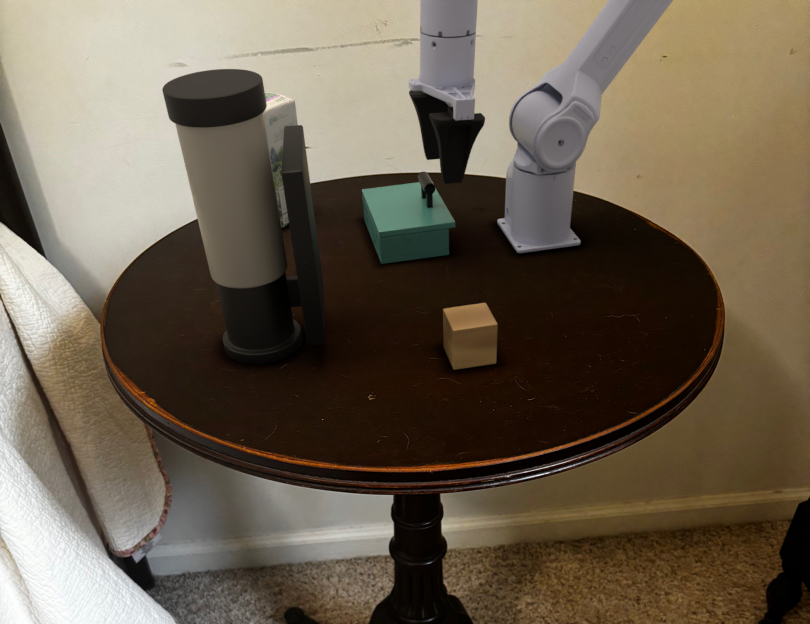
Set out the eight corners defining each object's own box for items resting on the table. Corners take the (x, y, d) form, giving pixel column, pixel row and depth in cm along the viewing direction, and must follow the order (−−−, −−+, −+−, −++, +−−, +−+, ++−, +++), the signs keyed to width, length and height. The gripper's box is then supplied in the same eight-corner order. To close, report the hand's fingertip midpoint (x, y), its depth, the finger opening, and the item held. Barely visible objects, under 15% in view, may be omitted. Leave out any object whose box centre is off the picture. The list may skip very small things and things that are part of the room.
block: (443, 347, 82) (442, 308, 79) (485, 341, 82) (485, 302, 79) (453, 370, 79) (453, 330, 76) (496, 363, 79) (497, 323, 76)
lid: (431, 185, 104) (430, 156, 101) (455, 227, 95) (455, 196, 92) (362, 194, 103) (359, 164, 101) (379, 237, 94) (376, 206, 91)
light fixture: (228, 318, 88) (171, 67, 71) (326, 309, 89) (294, 57, 71) (219, 378, 80) (152, 109, 62) (329, 368, 80) (292, 98, 63)
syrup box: (278, 206, 110) (259, 89, 100) (310, 214, 107) (295, 96, 97) (249, 221, 107) (227, 102, 97) (282, 230, 104) (262, 109, 94)
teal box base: (426, 211, 106) (425, 187, 104) (449, 254, 97) (449, 228, 95) (364, 219, 105) (362, 195, 103) (381, 264, 96) (379, 238, 94)
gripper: (394, 17, 86) (395, 151, 95) (427, 51, 76) (425, 196, 85) (457, 14, 87) (452, 146, 96) (498, 46, 77) (488, 191, 86)
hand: (443, 170), depth 91 cm, fingers open, 7 cm apart
